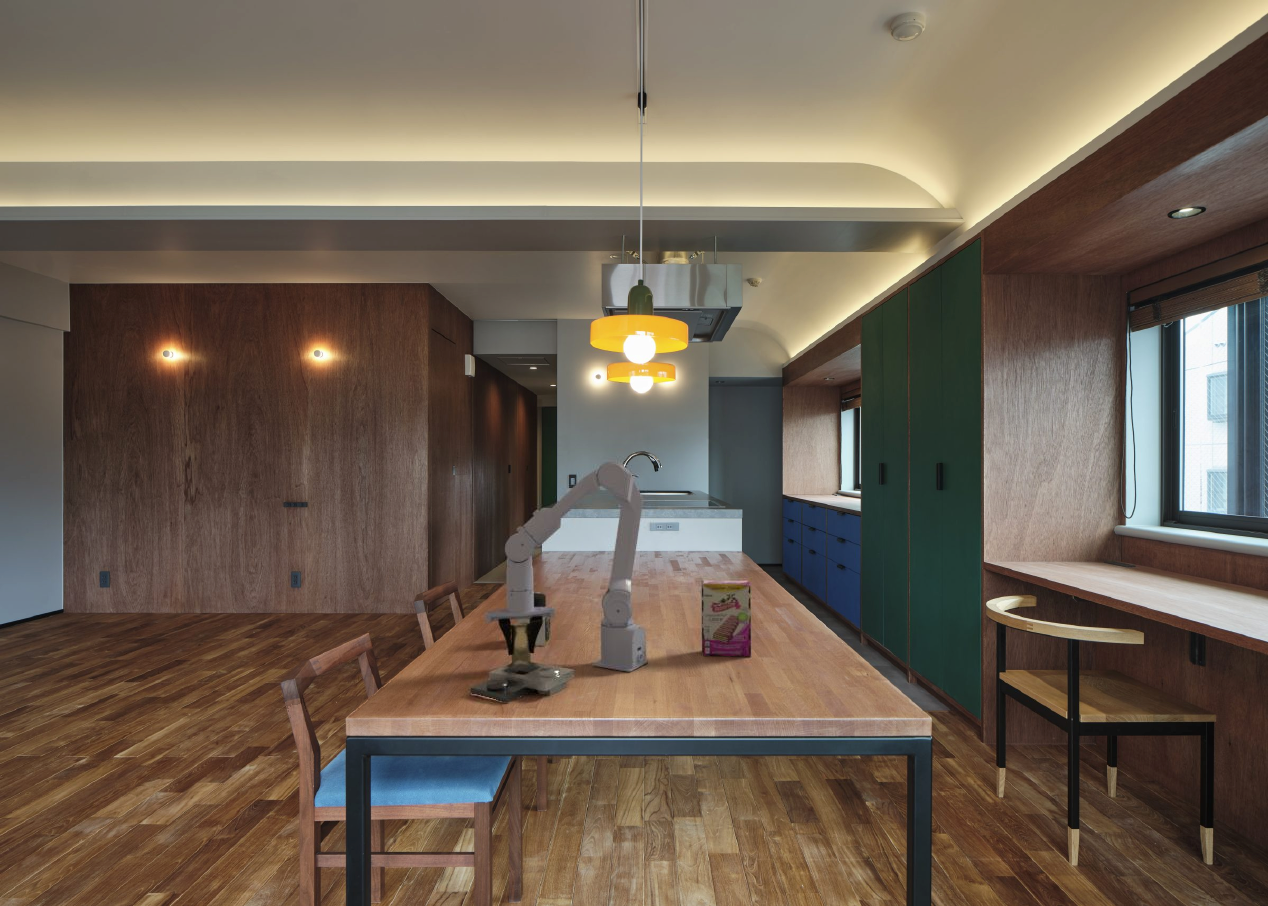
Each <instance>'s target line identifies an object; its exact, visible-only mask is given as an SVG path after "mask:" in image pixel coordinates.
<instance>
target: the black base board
mask: <svg viewBox="0 0 1268 906" xmlns="http://www.w3.org/2000/svg"><path fill="white" fill-rule="evenodd" d="M527 673H529V672H524V671H518V672H516V673H515V674H520V675H525V674H527ZM534 691H536V690H535V689H532V688H527V687H522V686H517V685H512V684H508V681H507V680H489V679H488V680H485V681H483V682H480V683H479V684H478V683H477V684H476V685H473V686H471V687H470V694H471V693H472V694H477V695H481V696H485V697H489V698H493V699H496V700H498V701H502V702H506V703H505V704H509V703H511V702H513V701H514V700H513V699H515V700H517V699H519V698H518V697H520V696H522V697H524V696H525V694H526V695H528V694H530V693H533V692H534ZM527 693H528V694H527ZM523 695H524V696H523ZM516 698H517V699H516ZM520 698H521V697H520ZM512 700H513V701H512ZM498 701H497V702H498ZM510 701H511V702H510ZM502 702H501V703H502ZM508 702H509V703H508Z"/></svg>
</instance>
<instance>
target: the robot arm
mask: <svg viewBox="0 0 1268 906" xmlns="http://www.w3.org/2000/svg"><path fill="white" fill-rule="evenodd" d="M600 487H602V488H603V489H605V490H606V491H608V492H609V493H611V495H613V497H614V499H615V500H616V501H617V502H618V503H619V504H620V511H619V519H618V525H617V531H616V538H615V543H614V551H613V558H612V566H611V570H610V572H611V573H610V577H609V580H608V581H609V582H608V587H607V588H606V589H607V590H606V591H605V593H604V594H603V595H602V599H601V608H602V613H603V618H602V619H601V620H600V659H599V660H597V661H596V662H594V663H592V666H593V667H599V668H605V669H608V670H609V669H611V670H616V671H617V670H618V671H621V672H628V673H630V672H632V671H634V670H637V669H638V668H640V667H641V666H643V665H646V664H647V663H648V662H649V660H648V659H647V635H646V634H647V633H646V631H645V628H644V627H643V626H641V625H637V624H636V623H635V622H634V621H635V620H634V618H633V617H632V616H633V613H634V608H633V604H632V601H631V595H632V578H633V572H634V566H635V565H634V564H635V558H636V552H637V546H638V545H637V544H638V538H639V531H640V525H641V518H642V510H643V505H644V499H643V496H642V495H641V493H640V490H639V488H638V486H637V484H636V482H635V479H634V477H633V475H632V473H631V472H630V470H628V468H626V467H625V465H623V463H620V462H619V461H615V460H611V461H606V462H604V463H602V464H601V465H600V466H599V468H598V469H595V470H593V471H591V472H590V473H589V474H587V475H585V476H584V477H583V478H581V479H580V480H579V481H578V482H577V483H576V484H575V485H573V487H572V488H571V489H570V490H569V491H568V492H567V493H566V494H564V496H562V497H561V498H560V499H559V500H558V502H556V503H555V505H553V506H552V507H541V509H540V510H538V509H536V510H535V511H533V512H532V515H533V516H532V517H531V518H530V519H529V520H527V522H526V523H524V525H522V526H520V525H519V527H517V528H516V531H517V533H514V534H512V535H510V537H509V538H508V540H507V541H506V543H505V546H504V552H505V555H506V557H507V558H506V566H507V567H506V570H505V571H506V572H505V573H506V577H505V578H506V608H504V609H503V608H502V609H497V610H496V609H495V610H488V611H485V623H492V622H498V625H499V628H500V630H501V633H502V635H503V637H504V639H505V642H506V647H507V654H508V656H512V645H511V625H512V621H514V620H516V621H517V619H529V618H530V654H534V653H535V647H536V646H535V643H536V639H537V636H538V633H539V631H540V629H541V627H542V624H543V617H550V619H551V618H555V617H556V616H555V615H556V614H555V610H556V609H555V607H554V606H546V607H534V593H535V592H534V591H535V590H534V567H533V555H532V554H533V552H534V550H535V548H540V547H541V546H542V545H543V544H544V543H546V541H547V540H548V539H550V537H552V536H553V535H554V534H555V533H556V532H557V531H558V530H559V529H560V528H561V525H562V524H561V523H562V518H564V516H566V515H567V514H568V513H569V512H570V511H572V509H574V508H575V507H576V506H577V505H578V504H580V503H581V502H582V501H583V500H584V499H585V498H587V496H589V495H593V494H596V493H600V492H602V489H601V488H600Z"/></svg>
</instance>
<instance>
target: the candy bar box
mask: <svg viewBox="0 0 1268 906" xmlns="http://www.w3.org/2000/svg"><path fill="white" fill-rule="evenodd" d="M751 594H752V593H751V583H750V581H749V580H721V579H717V580H716V579H715V580H713V579H712V580H711V579H703V580H701V653H702V655H701V656H704V657H706V656H707V657H752V622H751V621H752V620H751V619H752V618H751V617H752V616H751V615H752V613H751V608H752V607H751V596H752V595H751Z"/></svg>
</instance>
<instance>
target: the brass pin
mask: <svg viewBox="0 0 1268 906" xmlns="http://www.w3.org/2000/svg"><path fill="white" fill-rule="evenodd" d="M511 645H512V655H511V663H513V662H516V661H518V660H521V661H527V662H532V661H531V653H530V623H525V622H521V623H517V622H514V623H511Z"/></svg>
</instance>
